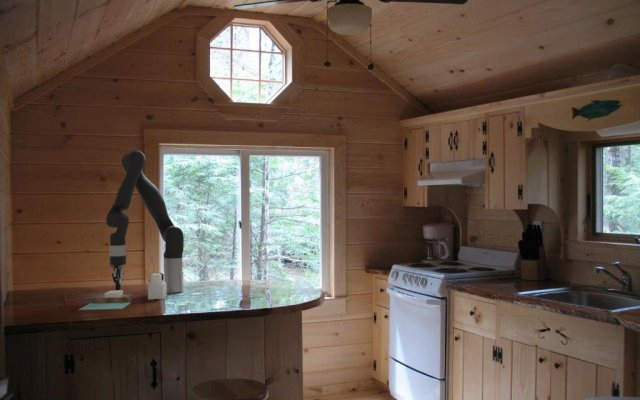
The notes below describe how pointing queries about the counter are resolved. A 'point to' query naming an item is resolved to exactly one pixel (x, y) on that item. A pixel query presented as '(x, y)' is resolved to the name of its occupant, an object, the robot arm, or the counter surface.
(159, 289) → the medicine bottle
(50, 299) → the counter surface
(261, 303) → the counter surface
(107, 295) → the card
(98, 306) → the mat
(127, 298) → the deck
